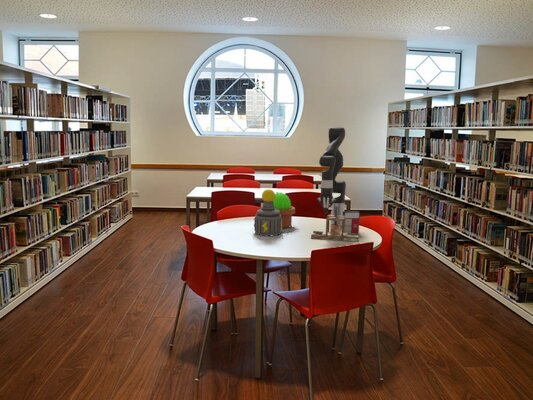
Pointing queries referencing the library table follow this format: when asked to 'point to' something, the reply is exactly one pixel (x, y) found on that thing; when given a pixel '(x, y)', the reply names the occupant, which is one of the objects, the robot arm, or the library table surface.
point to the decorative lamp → (268, 216)
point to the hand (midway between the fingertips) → (325, 213)
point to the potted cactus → (284, 209)
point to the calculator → (351, 221)
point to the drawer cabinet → (348, 238)
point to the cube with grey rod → (335, 227)
